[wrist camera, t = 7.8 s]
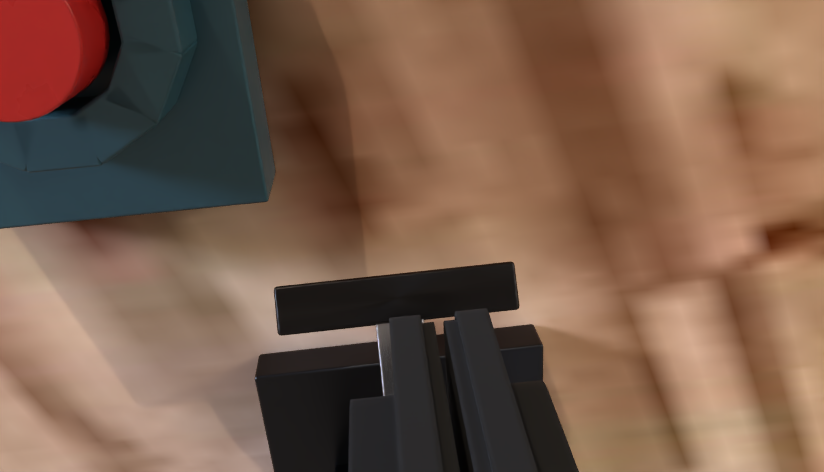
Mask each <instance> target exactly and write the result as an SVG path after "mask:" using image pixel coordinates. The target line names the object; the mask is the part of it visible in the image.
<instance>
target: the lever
mask: <svg viewBox="0 0 824 472" xmlns="http://www.w3.org/2000/svg"><path fill="white" fill-rule="evenodd" d="M274 297H275V308H276V319H277V330H278V334H279V335H281V336H282V335H291V334H300V333H309V332H318V331H327V330H336V329H345V328H354V327H363V326H372V325H376V332H377V342H378V352H379V361H380V371H381V381H382V390H383V396H390V395H394V382H393V367H392V353H391V339H390V325H389V318H393V317H403V316H413V315H421V321H422V323H424V320H426V319H435V318H444V317H454V316H455V311H464V310H474V309H485V308H486V309H487V310H488V312H489V313H490V312H499V311H508V310H517V309H518V308H519V299H518V290H517V282H516V274H515V265H514V263H513V262H503V263H493V264H484V265H474V266H465V267H456V268H446V269H437V270H428V271H418V272H409V273H400V274H390V275H381V276H372V277H362V278H353V279H344V280H334V281H325V282H316V283H306V284H297V285H288V286H278V287H275V288H274Z"/></svg>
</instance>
